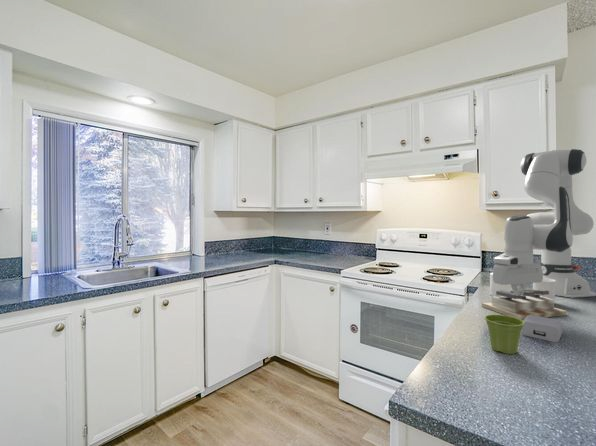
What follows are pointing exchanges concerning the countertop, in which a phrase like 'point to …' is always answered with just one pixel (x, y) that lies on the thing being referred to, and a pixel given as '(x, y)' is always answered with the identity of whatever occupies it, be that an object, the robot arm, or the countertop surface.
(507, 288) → the mug
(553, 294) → the white cup
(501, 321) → the plant pot
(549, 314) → the switch panel
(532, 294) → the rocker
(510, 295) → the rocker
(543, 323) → the charger
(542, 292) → the rocker
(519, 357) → the countertop surface
